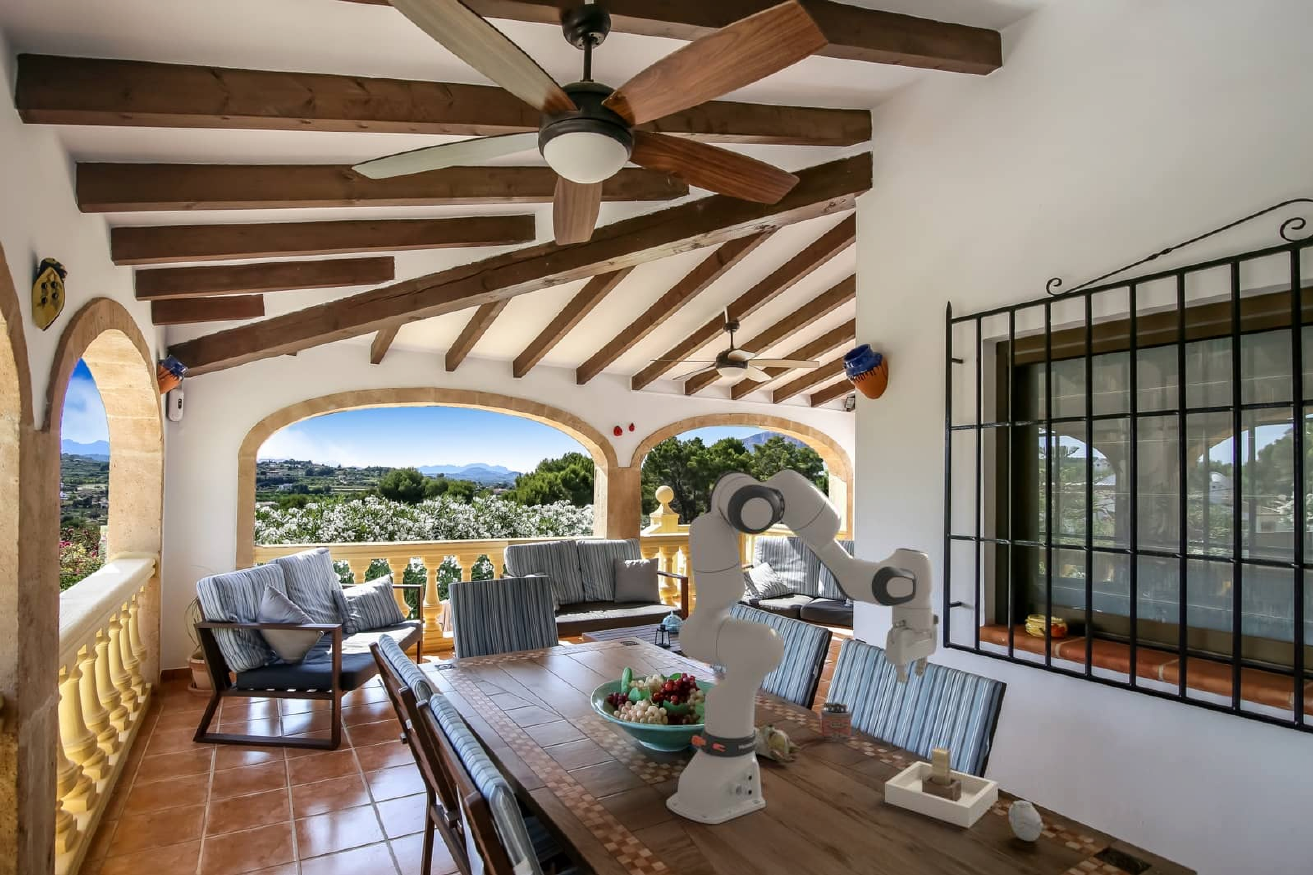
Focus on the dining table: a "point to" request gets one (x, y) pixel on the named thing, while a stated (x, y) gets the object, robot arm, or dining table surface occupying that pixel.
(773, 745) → the ceramic sculpture
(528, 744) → the dining table surface
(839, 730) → the lighter
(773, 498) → the robot arm
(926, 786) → the tray
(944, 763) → the tan wooden block
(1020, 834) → the grey rounded stone
